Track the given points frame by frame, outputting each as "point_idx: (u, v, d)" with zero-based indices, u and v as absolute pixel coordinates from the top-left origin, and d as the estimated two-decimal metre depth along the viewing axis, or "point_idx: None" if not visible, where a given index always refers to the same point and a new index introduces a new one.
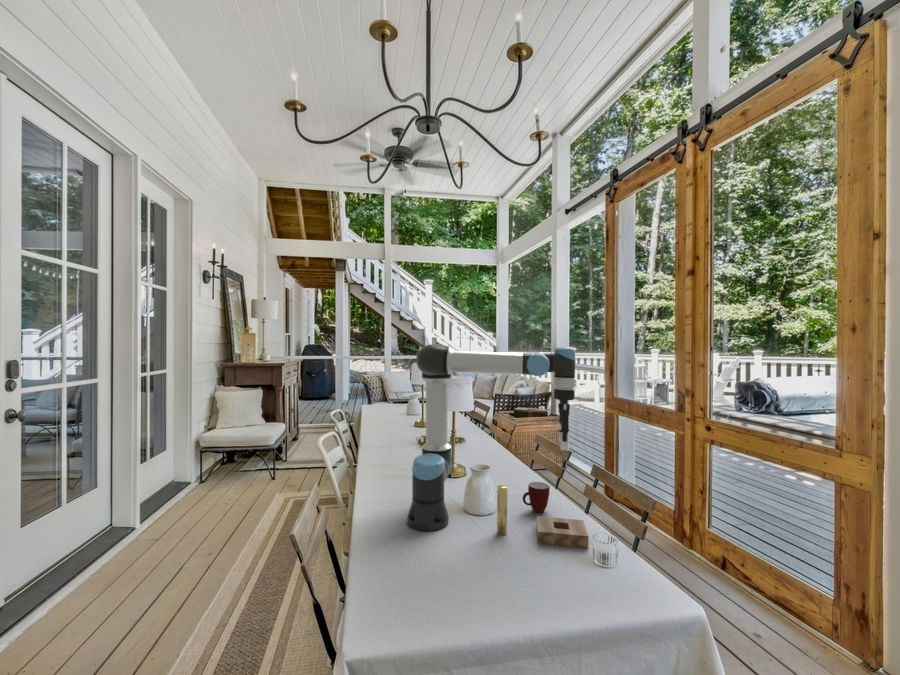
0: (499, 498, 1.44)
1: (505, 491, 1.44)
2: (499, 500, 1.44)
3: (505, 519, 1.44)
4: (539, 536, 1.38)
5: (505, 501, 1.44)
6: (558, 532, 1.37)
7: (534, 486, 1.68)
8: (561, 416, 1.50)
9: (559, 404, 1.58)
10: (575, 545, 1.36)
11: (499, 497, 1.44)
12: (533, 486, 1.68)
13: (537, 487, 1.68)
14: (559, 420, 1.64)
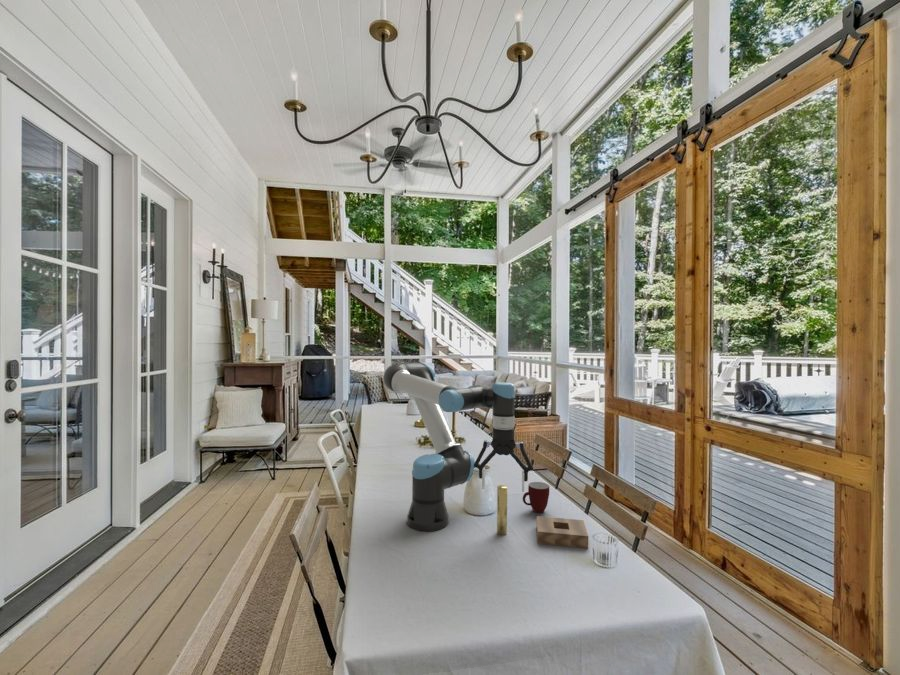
0: (499, 498, 1.44)
1: (505, 491, 1.44)
2: (499, 500, 1.44)
3: (505, 519, 1.44)
4: (539, 536, 1.38)
5: (505, 501, 1.44)
6: (558, 532, 1.37)
7: (534, 486, 1.68)
8: None
9: None
10: (575, 545, 1.36)
11: (499, 497, 1.44)
12: (533, 486, 1.68)
13: (537, 487, 1.68)
14: None
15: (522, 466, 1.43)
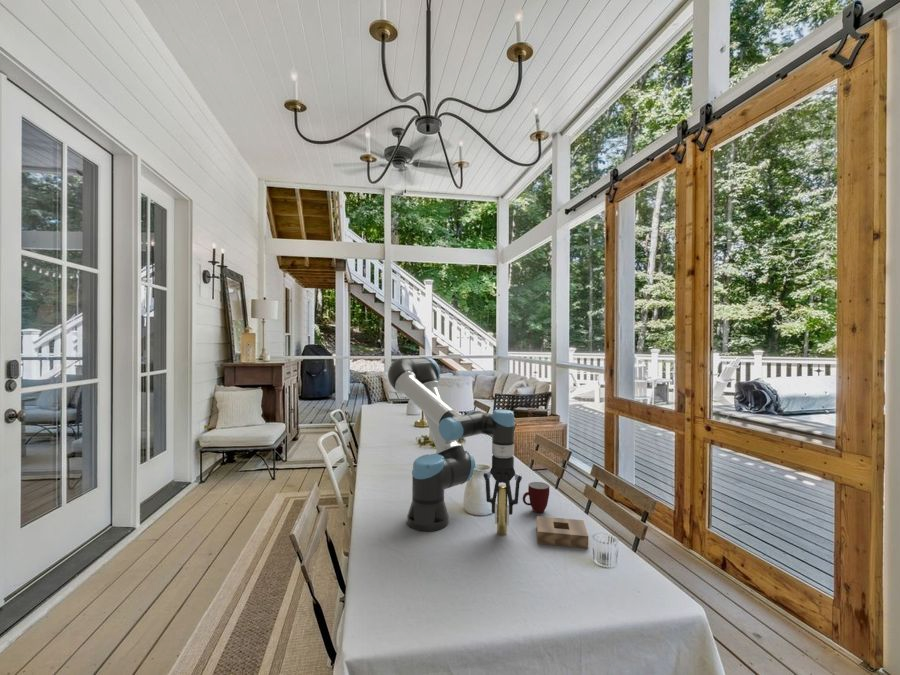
0: (499, 498, 1.44)
1: (505, 491, 1.44)
2: (499, 500, 1.44)
3: (505, 519, 1.44)
4: (539, 536, 1.38)
5: (505, 501, 1.44)
6: (558, 532, 1.37)
7: (534, 486, 1.68)
8: None
9: None
10: (575, 545, 1.36)
11: (499, 497, 1.44)
12: (533, 486, 1.68)
13: (537, 487, 1.68)
14: None
15: (509, 499, 1.43)
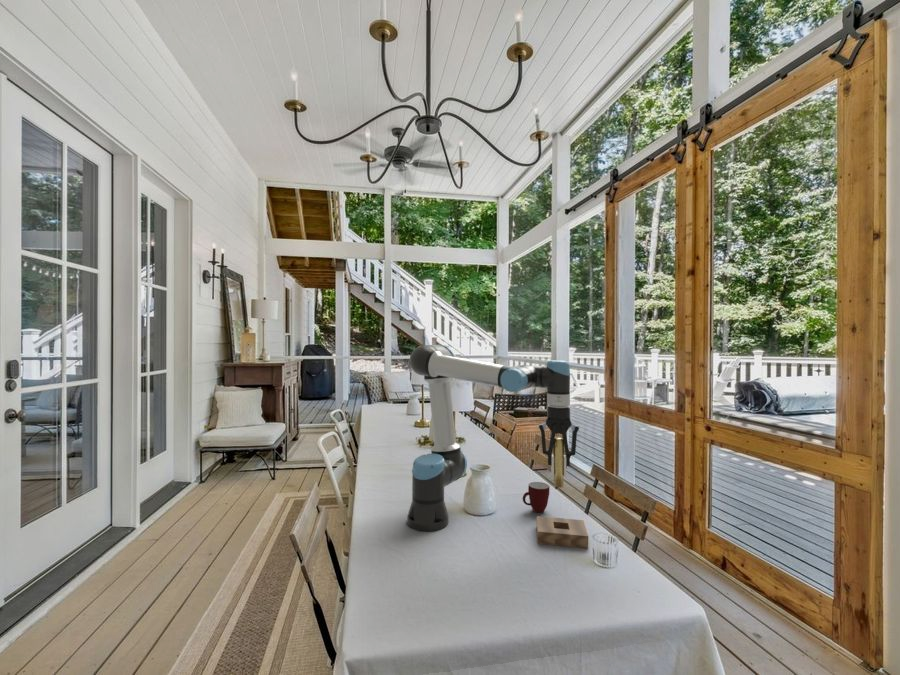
0: (556, 450, 1.41)
1: (562, 442, 1.41)
2: (556, 452, 1.41)
3: (562, 471, 1.41)
4: (539, 536, 1.38)
5: (562, 452, 1.41)
6: (558, 532, 1.37)
7: (534, 486, 1.68)
8: None
9: None
10: (575, 545, 1.36)
11: (556, 449, 1.41)
12: (533, 486, 1.68)
13: (537, 487, 1.68)
14: None
15: (566, 450, 1.41)
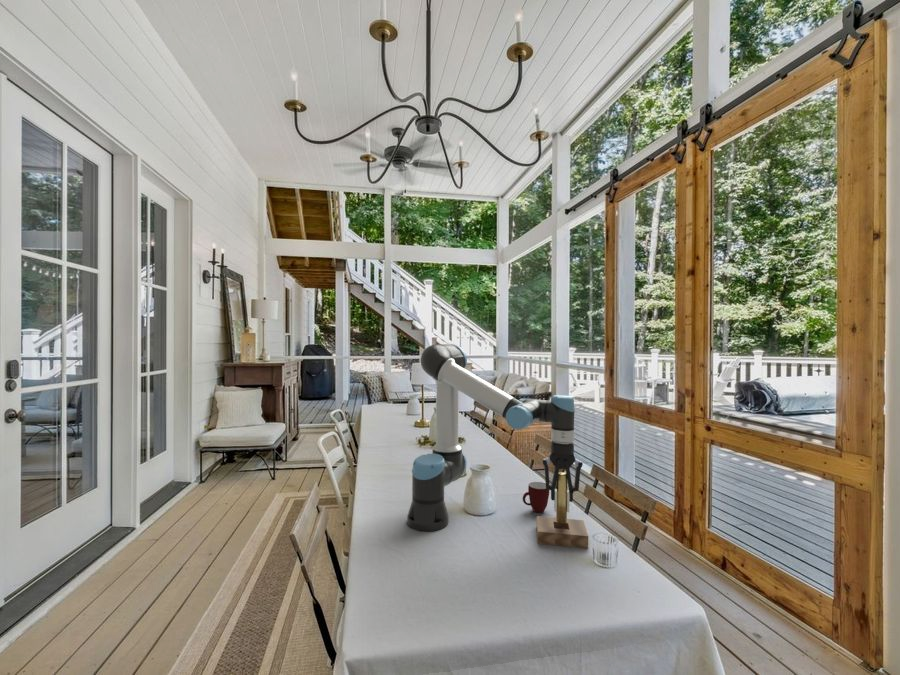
0: (559, 485, 1.41)
1: (565, 478, 1.41)
2: (559, 487, 1.41)
3: (566, 506, 1.41)
4: (539, 536, 1.38)
5: (565, 488, 1.41)
6: (558, 532, 1.37)
7: (534, 486, 1.68)
8: None
9: None
10: (575, 545, 1.36)
11: (559, 484, 1.41)
12: (533, 486, 1.68)
13: (537, 487, 1.68)
14: None
15: (570, 485, 1.41)
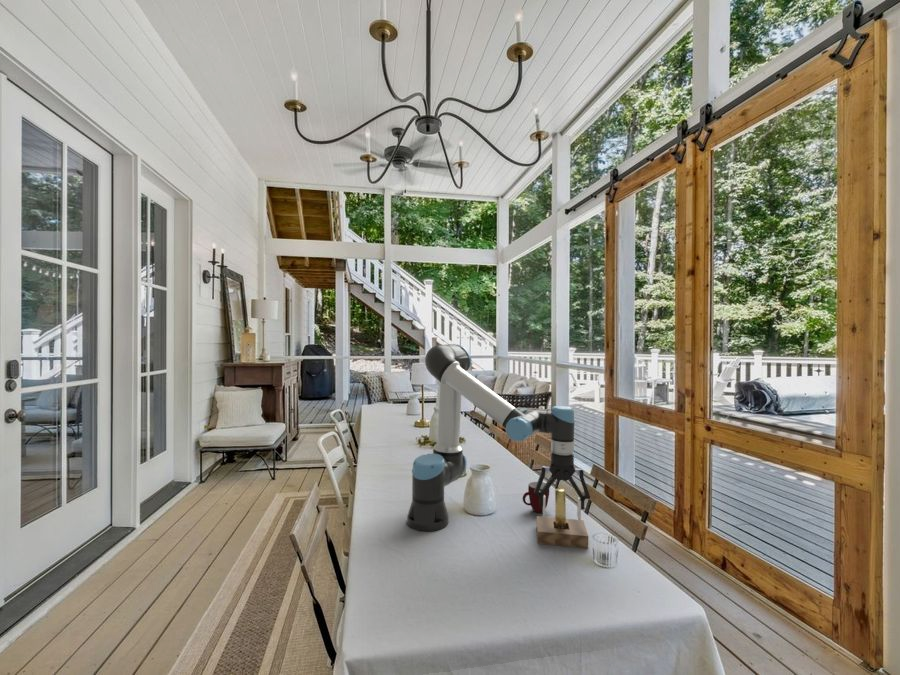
0: (557, 502, 1.41)
1: (563, 495, 1.41)
2: (557, 504, 1.41)
3: (564, 523, 1.41)
4: (539, 536, 1.38)
5: (563, 505, 1.41)
6: (558, 532, 1.37)
7: (534, 486, 1.68)
8: None
9: None
10: (575, 545, 1.36)
11: (557, 501, 1.41)
12: (533, 486, 1.68)
13: None
14: None
15: (579, 494, 1.40)
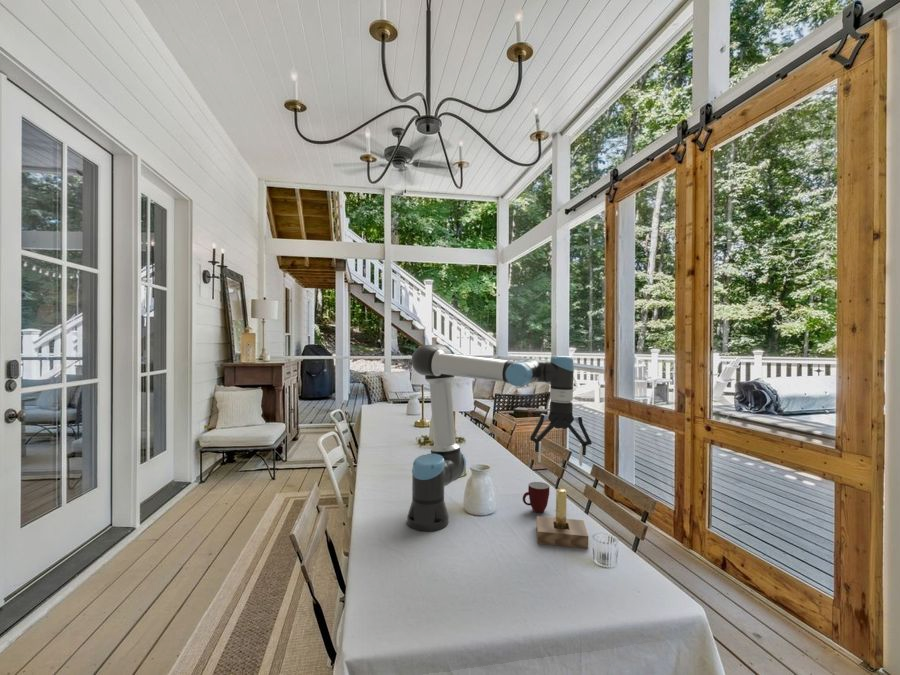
0: (558, 502, 1.41)
1: (565, 495, 1.41)
2: (558, 504, 1.41)
3: (565, 523, 1.41)
4: (539, 536, 1.38)
5: (564, 505, 1.41)
6: (558, 532, 1.37)
7: (534, 486, 1.68)
8: None
9: None
10: (575, 545, 1.36)
11: (558, 501, 1.41)
12: (533, 486, 1.68)
13: (537, 487, 1.68)
14: None
15: (580, 440, 1.41)
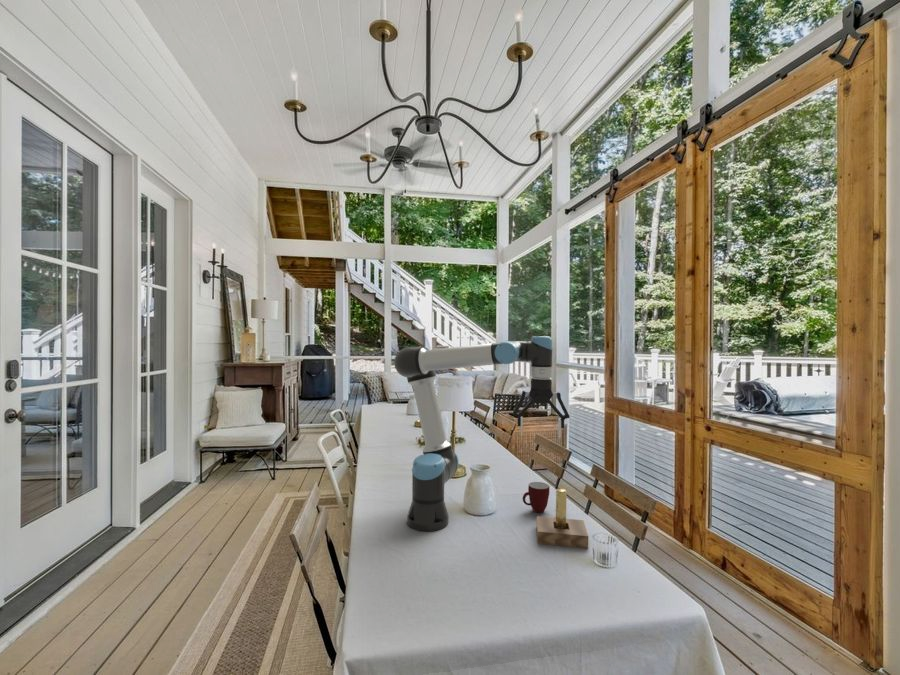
0: (558, 502, 1.41)
1: (565, 495, 1.41)
2: (558, 504, 1.41)
3: (565, 523, 1.41)
4: (539, 536, 1.38)
5: (564, 505, 1.41)
6: (558, 532, 1.37)
7: (534, 486, 1.68)
8: None
9: None
10: (575, 545, 1.36)
11: (558, 501, 1.41)
12: (533, 486, 1.68)
13: (537, 487, 1.68)
14: None
15: (559, 414, 1.51)
